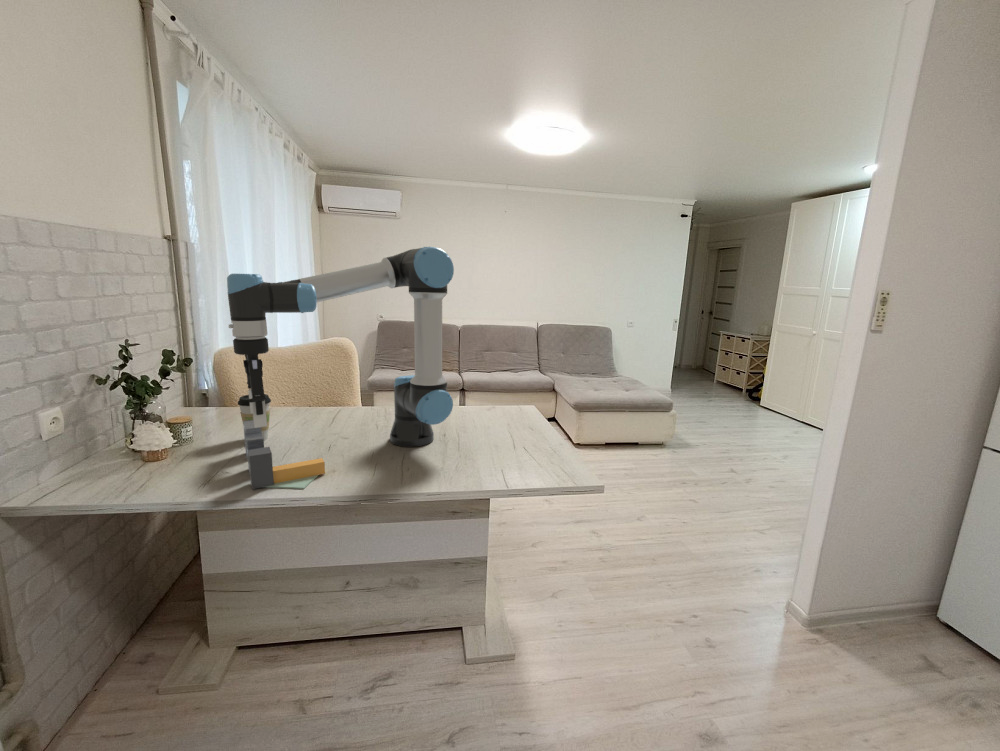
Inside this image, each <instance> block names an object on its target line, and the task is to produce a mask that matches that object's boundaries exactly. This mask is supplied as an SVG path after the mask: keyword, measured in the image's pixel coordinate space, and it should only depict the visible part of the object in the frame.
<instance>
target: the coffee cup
mask: <svg viewBox="0 0 1000 751" xmlns="http://www.w3.org/2000/svg"><path fill="white" fill-rule="evenodd" d="M264 396H265V409H266V419H267V426H265V427H261V431H262V435H263V438H264V441H266V440H268V438H269V428H270V414H271V413H270V412H271V409H270V405H271V404H270V403H271V402H272V400H271V398H270V396H269V394H265V393H264ZM237 401H238V402H237V405H238V406H239V410H240V416H241V421H242V423H243V421H247V420H254V418H253V413H252V414H251V412H250V403H249V394H245V395H242V396H240V397H239V399H238V400H237Z"/></svg>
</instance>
